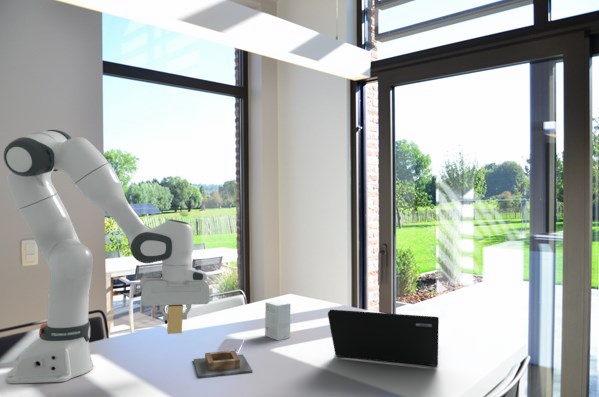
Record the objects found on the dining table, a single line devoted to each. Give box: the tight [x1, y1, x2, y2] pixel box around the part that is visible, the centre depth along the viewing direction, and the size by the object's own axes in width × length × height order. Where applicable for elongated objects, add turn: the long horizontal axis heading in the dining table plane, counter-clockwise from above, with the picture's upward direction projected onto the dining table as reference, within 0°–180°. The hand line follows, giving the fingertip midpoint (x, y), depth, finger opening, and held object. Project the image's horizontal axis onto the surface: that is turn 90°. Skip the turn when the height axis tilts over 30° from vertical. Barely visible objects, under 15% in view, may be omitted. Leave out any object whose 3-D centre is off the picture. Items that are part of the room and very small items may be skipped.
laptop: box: [327, 309, 440, 366], centre depth 154 cm, size 33×38×19 cm
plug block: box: [166, 305, 184, 335], centre depth 138 cm, size 4×4×8 cm
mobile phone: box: [216, 338, 245, 355], centre depth 162 cm, size 8×1×15 cm
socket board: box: [193, 350, 253, 379], centre depth 143 cm, size 16×15×3 cm
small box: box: [264, 300, 291, 341], centre depth 175 cm, size 8×6×13 cm
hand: (174, 319), depth 138 cm, fingers closed on plug block, 4 cm apart
